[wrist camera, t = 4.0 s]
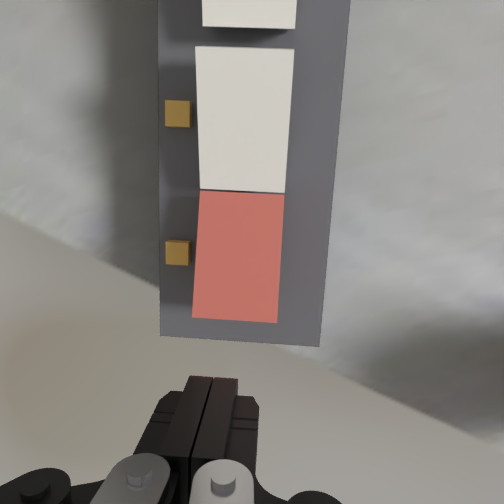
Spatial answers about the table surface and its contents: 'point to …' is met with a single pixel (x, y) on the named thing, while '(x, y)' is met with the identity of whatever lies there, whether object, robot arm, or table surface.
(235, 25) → the rocker
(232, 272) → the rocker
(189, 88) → the switch panel
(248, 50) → the block
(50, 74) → the table surface
